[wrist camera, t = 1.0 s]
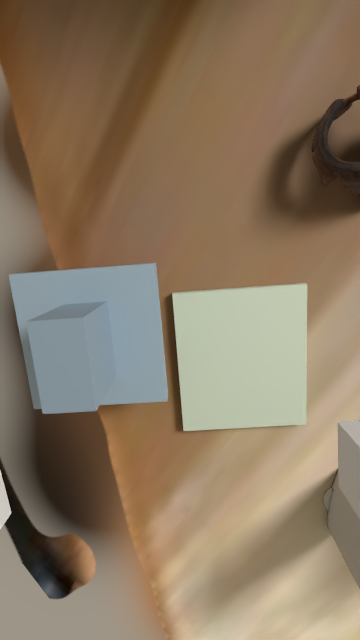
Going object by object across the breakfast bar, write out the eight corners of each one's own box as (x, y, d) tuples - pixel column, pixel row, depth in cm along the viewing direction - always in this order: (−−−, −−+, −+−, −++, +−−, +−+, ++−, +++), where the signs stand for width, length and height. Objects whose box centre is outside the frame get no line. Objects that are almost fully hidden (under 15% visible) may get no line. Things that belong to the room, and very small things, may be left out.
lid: (16, 273, 30) (-47, 283, 22) (155, 262, 30) (143, 268, 22) (40, 402, 33) (-9, 453, 25) (168, 394, 33) (161, 444, 24)
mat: (172, 292, 35) (172, 293, 34) (303, 283, 35) (307, 284, 34) (183, 426, 39) (183, 431, 38) (303, 419, 38) (306, 424, 37)
